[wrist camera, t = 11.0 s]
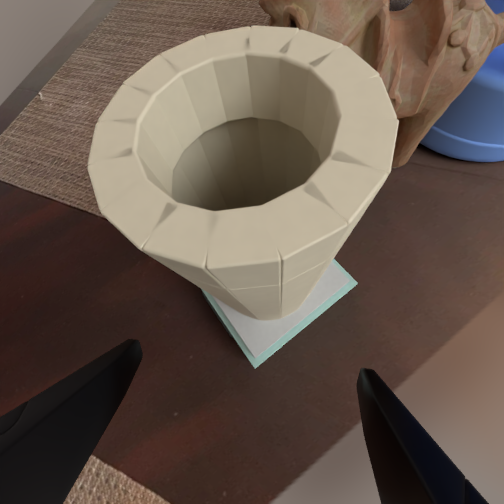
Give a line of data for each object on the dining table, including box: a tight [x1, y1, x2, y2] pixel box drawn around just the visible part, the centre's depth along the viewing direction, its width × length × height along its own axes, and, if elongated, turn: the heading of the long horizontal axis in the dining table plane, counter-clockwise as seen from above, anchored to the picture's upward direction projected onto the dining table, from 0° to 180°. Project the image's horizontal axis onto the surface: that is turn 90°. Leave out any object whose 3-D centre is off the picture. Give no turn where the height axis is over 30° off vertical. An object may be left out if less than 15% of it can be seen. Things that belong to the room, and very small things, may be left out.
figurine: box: [259, 0, 504, 168], centre depth 18 cm, size 7×18×15 cm, turn 90°
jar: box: [87, 25, 399, 321], centre depth 12 cm, size 7×7×14 cm
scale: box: [201, 259, 358, 368], centre depth 20 cm, size 10×10×3 cm
